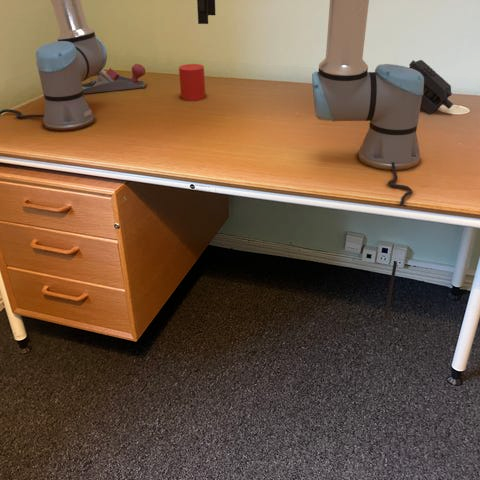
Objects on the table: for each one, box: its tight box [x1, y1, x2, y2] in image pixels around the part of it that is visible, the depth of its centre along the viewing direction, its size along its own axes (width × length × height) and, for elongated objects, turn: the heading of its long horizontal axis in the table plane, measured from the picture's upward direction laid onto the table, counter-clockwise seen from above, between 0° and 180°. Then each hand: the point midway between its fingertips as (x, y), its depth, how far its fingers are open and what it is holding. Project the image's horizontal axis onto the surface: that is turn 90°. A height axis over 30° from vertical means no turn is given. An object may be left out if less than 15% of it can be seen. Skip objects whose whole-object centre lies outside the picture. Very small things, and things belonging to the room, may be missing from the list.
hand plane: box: [82, 63, 146, 95], centre depth 194 cm, size 7×31×15 cm, turn 107°
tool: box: [408, 59, 454, 114], centre depth 170 cm, size 6×19×15 cm, turn 51°
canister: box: [178, 63, 206, 102], centre depth 186 cm, size 9×9×10 cm
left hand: (207, 19), depth 152 cm, fingers open, 13 cm apart
